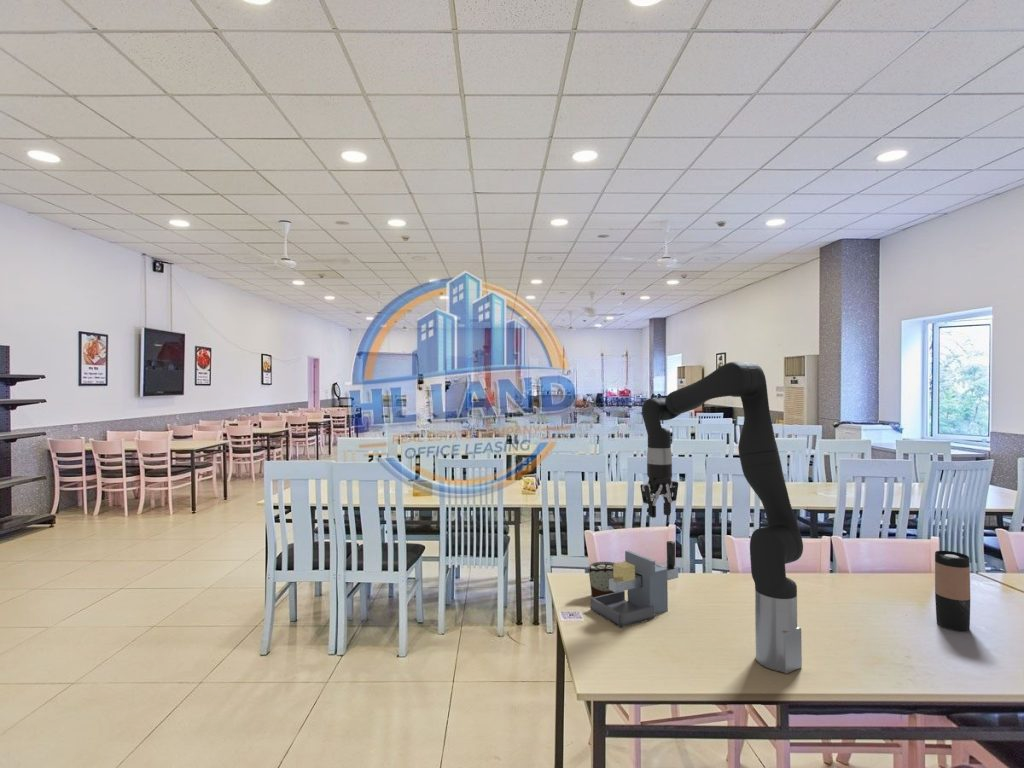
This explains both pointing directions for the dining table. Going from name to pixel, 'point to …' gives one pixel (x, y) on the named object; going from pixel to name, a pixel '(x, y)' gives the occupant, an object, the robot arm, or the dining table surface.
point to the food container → (600, 578)
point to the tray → (620, 609)
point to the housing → (648, 583)
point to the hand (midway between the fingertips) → (659, 515)
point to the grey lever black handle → (619, 586)
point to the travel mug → (952, 590)
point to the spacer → (624, 571)
